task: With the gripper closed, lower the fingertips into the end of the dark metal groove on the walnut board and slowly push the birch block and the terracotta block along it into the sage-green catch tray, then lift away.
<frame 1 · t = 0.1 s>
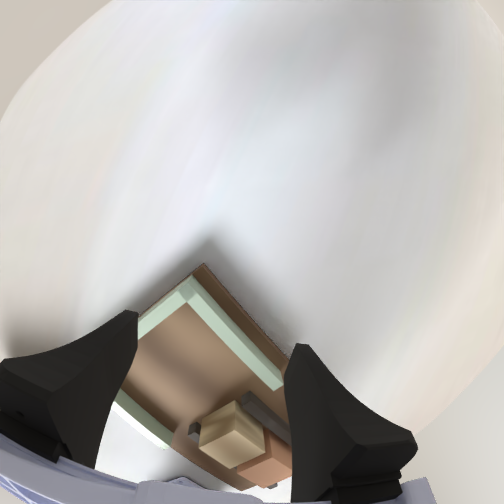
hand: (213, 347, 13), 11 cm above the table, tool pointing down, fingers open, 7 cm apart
groove board: (225, 409, 25), on the table
birch block: (232, 421, 25), point 1 cm above the table, touching groove board
catch tray: (175, 371, 23), resting on groove board
terracotta block: (264, 445, 26), point 1 cm above the table, touching groove board
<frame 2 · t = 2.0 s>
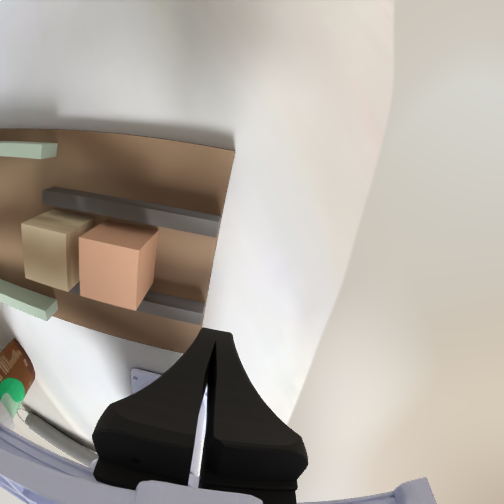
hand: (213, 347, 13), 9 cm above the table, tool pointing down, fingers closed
food container: (23, 369, 26), on the table
kitchen whisk: (118, 460, 33), on the table
groove board: (68, 232, 20), on the table
birch block: (72, 238, 19), point 1 cm above the table, touching groove board
catch tray: (8, 222, 19), resting on groove board
terracotta block: (129, 251, 20), point 1 cm above the table, touching groove board
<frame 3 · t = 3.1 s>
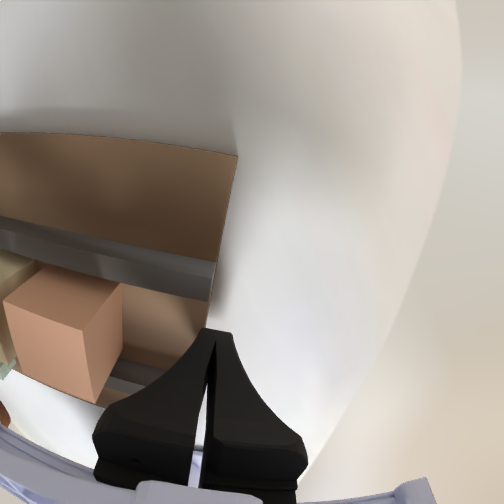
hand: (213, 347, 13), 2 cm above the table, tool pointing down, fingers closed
groove board: (14, 271, 13), on the table
birch block: (15, 283, 12), point 1 cm above the table, touching groove board
terracotta block: (86, 307, 13), point 1 cm above the table, touching groove board
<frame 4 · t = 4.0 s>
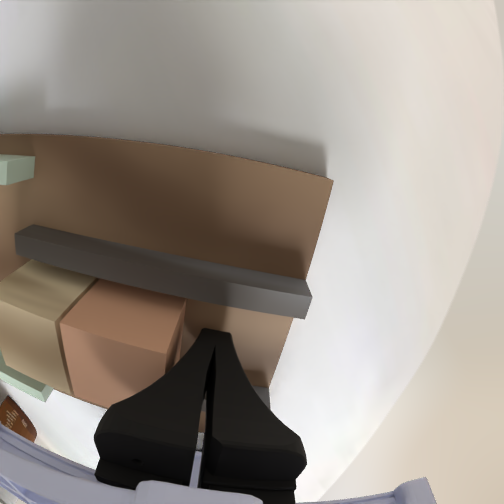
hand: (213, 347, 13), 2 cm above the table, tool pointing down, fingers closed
food container: (22, 425, 20), on the table
groove board: (61, 288, 14), on the table
birch block: (66, 301, 13), point 1 cm above the table, touching groove board
terracotta block: (141, 322, 13), point 1 cm above the table, touching gripper
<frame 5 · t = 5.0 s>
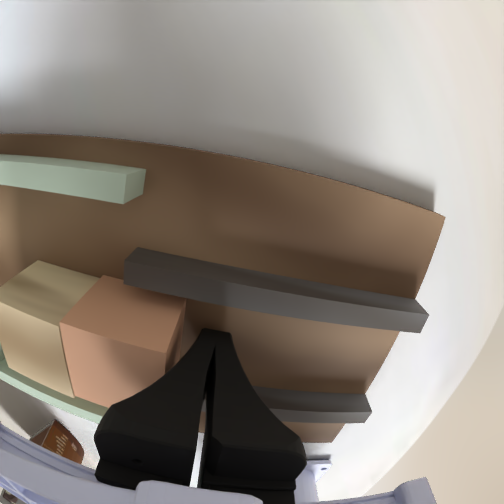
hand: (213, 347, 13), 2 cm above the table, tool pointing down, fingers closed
food container: (66, 446, 20), on the table
groove board: (159, 314, 14), on the table
birch block: (70, 304, 13), point 1 cm above the table, touching groove board
catch tray: (42, 293, 13), resting on groove board
terracotta block: (141, 321, 13), point 1 cm above the table, touching gripper
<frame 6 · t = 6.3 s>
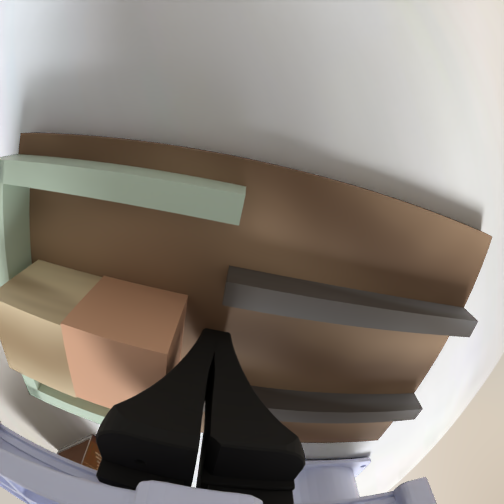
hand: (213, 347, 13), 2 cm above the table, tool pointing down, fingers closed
food container: (99, 459, 20), on the table
groove board: (236, 329, 14), on the table
birch block: (71, 303, 13), point 1 cm above the table, touching groove board, terracotta block
catch tray: (104, 312, 13), resting on groove board
terracotta block: (142, 322, 13), point 1 cm above the table, touching birch block, gripper, groove board
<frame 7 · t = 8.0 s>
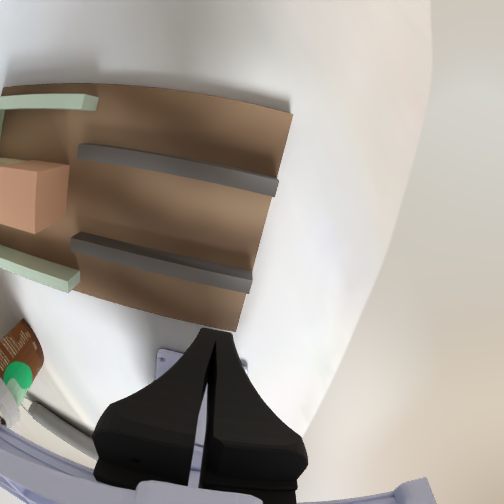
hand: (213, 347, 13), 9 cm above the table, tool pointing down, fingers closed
food container: (30, 354, 25), on the table
kitchen whisk: (128, 453, 32), on the table
groove board: (100, 194, 19), on the table
catch tray: (30, 185, 18), resting on groove board
terracotta block: (47, 188, 18), point 1 cm above the table, touching birch block, groove board
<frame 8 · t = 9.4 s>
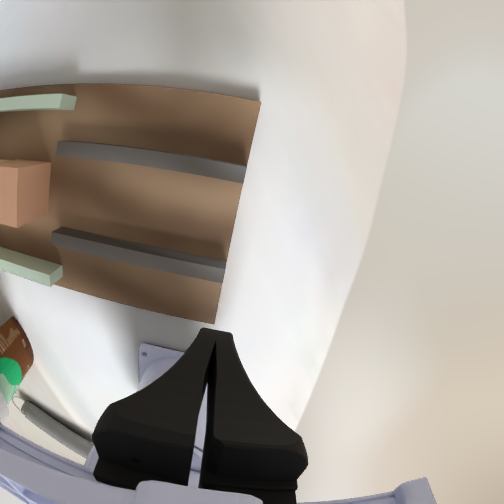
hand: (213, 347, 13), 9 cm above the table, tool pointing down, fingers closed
food container: (21, 353, 25), on the table
kitchen whisk: (120, 453, 31), on the table
groove board: (80, 190, 19), on the table
catch tray: (15, 183, 18), resting on groove board
terracotta block: (31, 185, 18), point 1 cm above the table, touching birch block, groove board
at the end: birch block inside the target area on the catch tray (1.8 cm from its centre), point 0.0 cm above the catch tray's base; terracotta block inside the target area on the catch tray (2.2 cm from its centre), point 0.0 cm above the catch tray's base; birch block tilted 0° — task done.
